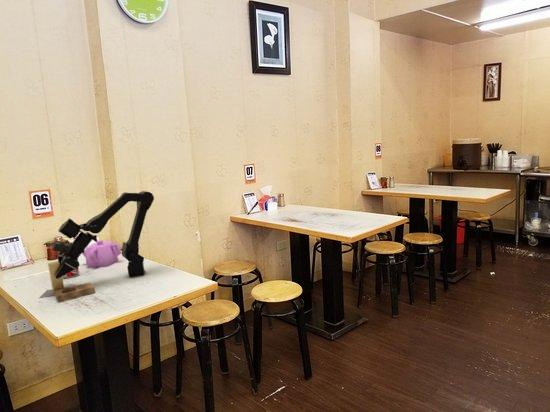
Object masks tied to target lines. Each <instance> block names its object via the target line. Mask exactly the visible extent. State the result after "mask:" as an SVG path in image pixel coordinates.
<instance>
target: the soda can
mask: <svg viewBox="0 0 550 412" xmlns="http://www.w3.org/2000/svg"><path fill="white" fill-rule="evenodd" d="M79 275H80V269H79V267H78V268H77V269H75V270H73V271H71V272H69V273H67V274H65V275H64V276H62V278H64V279H67V280H69V279H73V278H76V277H78V276H79Z"/></svg>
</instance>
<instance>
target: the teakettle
mask: <svg viewBox="0 0 550 412" xmlns="http://www.w3.org/2000/svg"><path fill="white" fill-rule="evenodd" d="M84 251H85V252H84V253H82V254H81V255H83V257H85V265H86V267H87V268H88V269H93V268H94V269H95V268H96V269H97V268H102V267H103V268H104V267H109V266H112V265H113V264H114V263H116V262H117V261H118V259H119V258H118V257H119V256H120V255H122V251H121V247H120V243H115V242H114V240H113V241H111V240H110V241H104V240H102V239H100V240H97V242H94V243H92V244H89V245H88V246H87V247H86V248H85V250H84Z"/></svg>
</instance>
